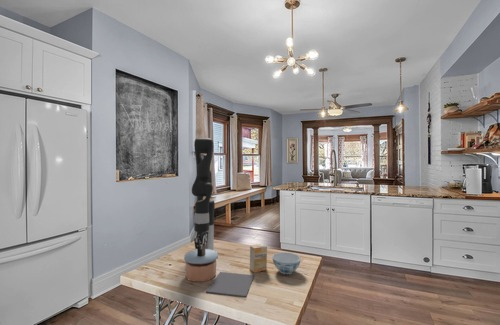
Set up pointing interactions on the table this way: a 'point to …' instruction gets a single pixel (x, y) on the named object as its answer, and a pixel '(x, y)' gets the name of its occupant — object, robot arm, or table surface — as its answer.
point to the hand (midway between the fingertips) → (201, 254)
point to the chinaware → (286, 262)
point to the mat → (231, 284)
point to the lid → (205, 258)
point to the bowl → (200, 271)
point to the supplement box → (258, 258)
